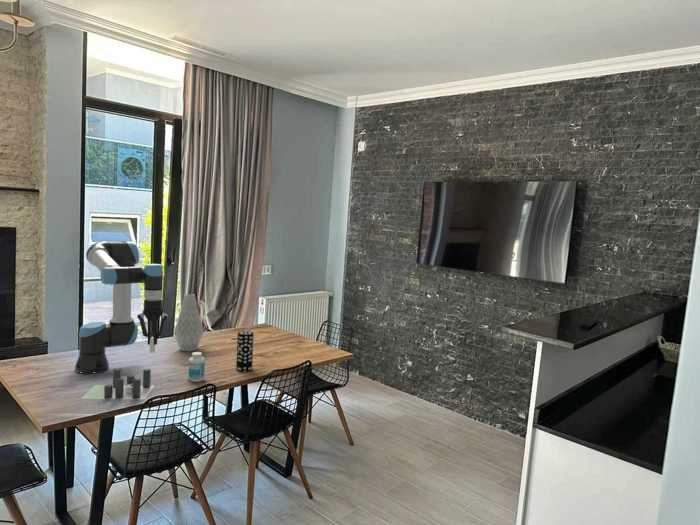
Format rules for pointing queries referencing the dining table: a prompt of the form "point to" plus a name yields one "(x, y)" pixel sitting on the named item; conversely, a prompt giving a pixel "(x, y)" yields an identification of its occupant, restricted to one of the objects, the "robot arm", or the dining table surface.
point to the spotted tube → (244, 351)
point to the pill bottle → (196, 367)
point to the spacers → (119, 384)
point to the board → (98, 393)
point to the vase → (188, 325)
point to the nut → (129, 389)
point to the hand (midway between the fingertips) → (152, 351)
